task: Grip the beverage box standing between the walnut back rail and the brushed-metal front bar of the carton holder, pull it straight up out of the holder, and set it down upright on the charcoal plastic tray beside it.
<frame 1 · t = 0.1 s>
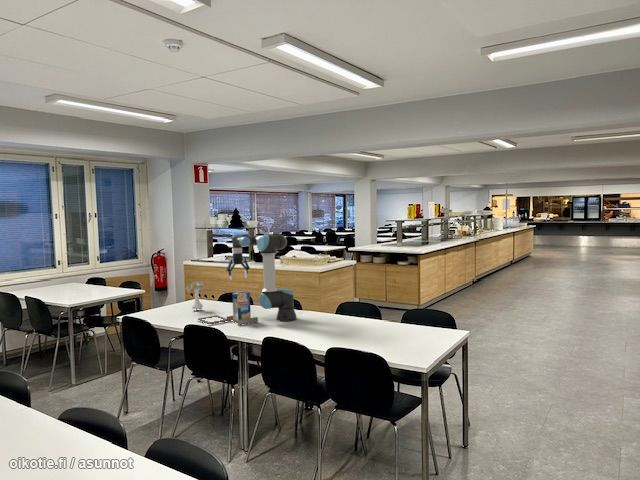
hand: (238, 278, 380), 28 cm above the table, tool pointing down, fingers open, 13 cm apart
tray: (213, 321, 351), on the table
carton holder: (242, 322, 346), on the table
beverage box: (242, 322, 346), on the table
flower vase: (197, 310, 395), on the table
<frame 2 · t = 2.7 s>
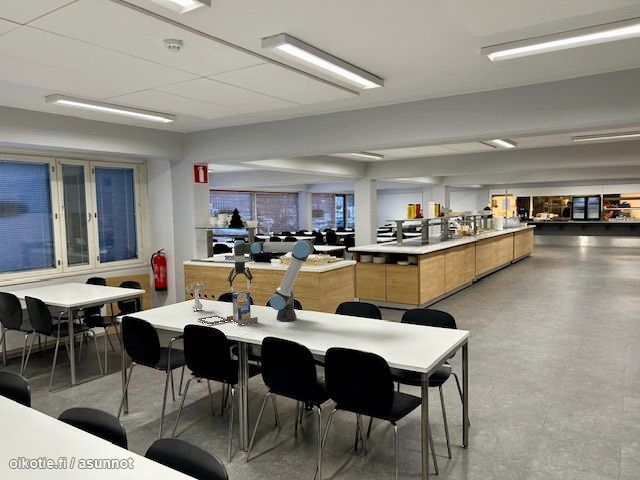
hand: (240, 289, 345), 24 cm above the table, tool pointing down, fingers open, 13 cm apart
nothing on the table moved.
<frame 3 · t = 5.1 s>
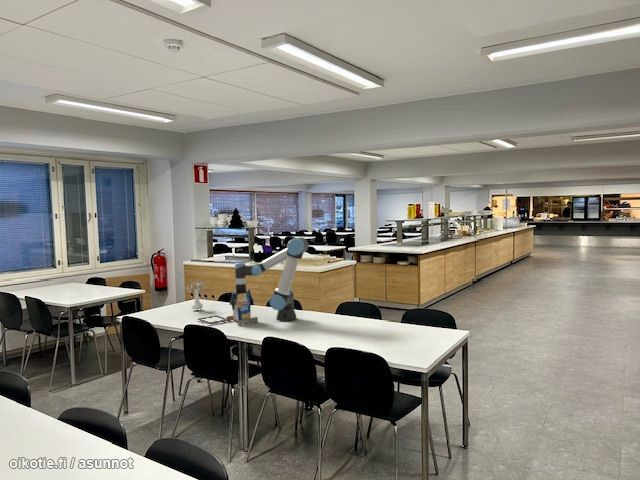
hand: (241, 312, 346), 7 cm above the table, tool pointing down, fingers closed on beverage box, 11 cm apart
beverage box: (242, 322, 346), on the table, touching gripper
everything else where it was.
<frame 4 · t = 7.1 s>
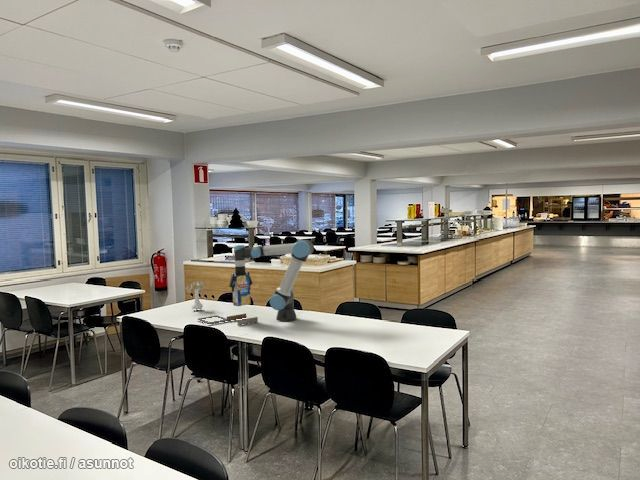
hand: (241, 295, 345), 20 cm above the table, tool pointing down, fingers closed on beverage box, 11 cm apart
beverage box: (241, 304, 345), point 13 cm above the table, touching gripper
everything else where it was.
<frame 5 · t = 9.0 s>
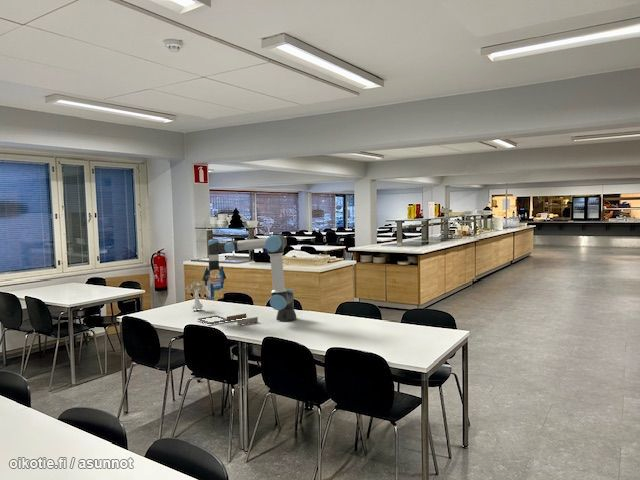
hand: (214, 289, 349), 25 cm above the table, tool pointing down, fingers closed on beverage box, 11 cm apart
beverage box: (214, 298, 350), point 18 cm above the table, touching gripper
everything else where it was.
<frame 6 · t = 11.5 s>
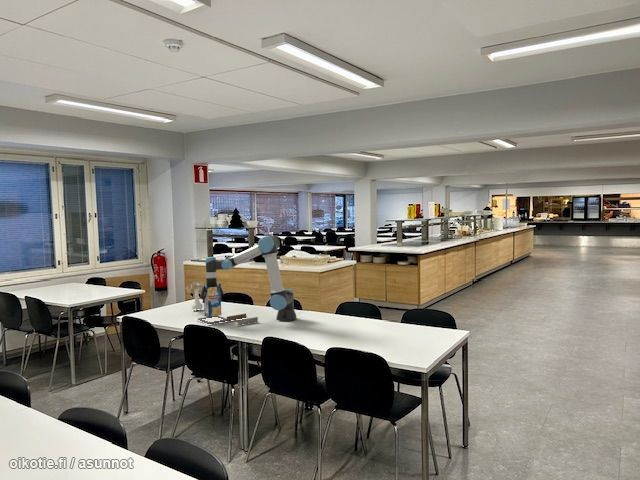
hand: (212, 306, 351), 12 cm above the table, tool pointing down, fingers closed on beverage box, 11 cm apart
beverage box: (212, 315, 351), point 4 cm above the table, touching gripper
everything else where it was.
when the fingers open (9 cm above the table, at t = 13.1 s): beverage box drops 2 cm, resting on tray.
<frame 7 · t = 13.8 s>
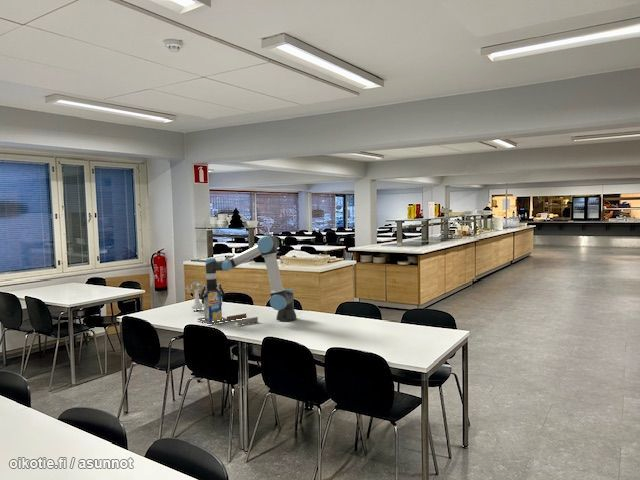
hand: (212, 306, 350), 11 cm above the table, tool pointing down, fingers open, 13 cm apart
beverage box: (213, 320, 351), point 1 cm above the table, touching tray
everything else where it was.
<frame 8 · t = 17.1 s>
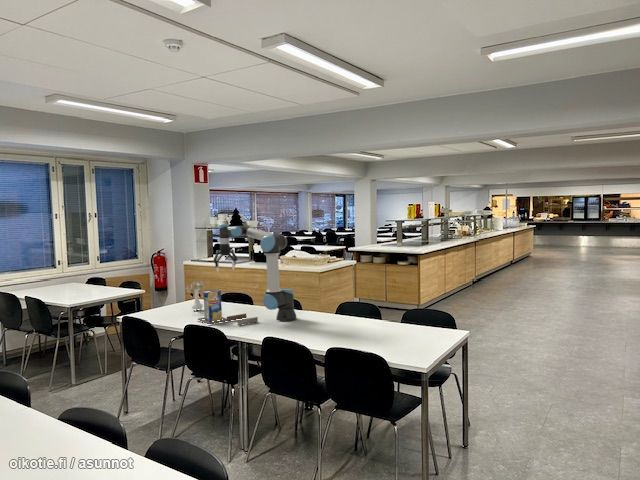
hand: (225, 270, 365), 37 cm above the table, tool pointing down, fingers open, 13 cm apart
nothing on the table moved.
at the end: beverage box inside the target area on the tray (0.2 cm from its centre), point 0.6 cm above the tray's base; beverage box tilted 0°; the gripper is holding nothing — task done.
